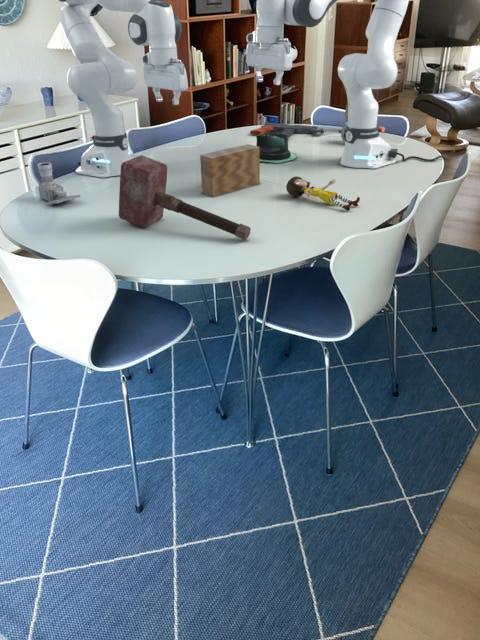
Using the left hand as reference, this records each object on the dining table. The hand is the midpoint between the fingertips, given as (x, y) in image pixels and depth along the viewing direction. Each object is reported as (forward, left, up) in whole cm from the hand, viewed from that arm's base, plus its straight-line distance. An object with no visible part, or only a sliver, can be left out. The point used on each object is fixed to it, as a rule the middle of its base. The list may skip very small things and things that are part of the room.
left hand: (167, 103), depth 187 cm
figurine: (+55, -7, -27) cm, 62 cm away
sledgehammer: (+23, -42, -27) cm, 55 cm away
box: (+22, 0, -27) cm, 35 cm away
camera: (-29, -30, -27) cm, 50 cm away
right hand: (+32, +12, +5) cm, 34 cm away
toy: (+54, +76, -27) cm, 97 cm away
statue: (+49, +102, -27) cm, 116 cm away
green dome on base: (+24, +44, -27) cm, 57 cm away
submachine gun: (+19, +84, -27) cm, 91 cm away
